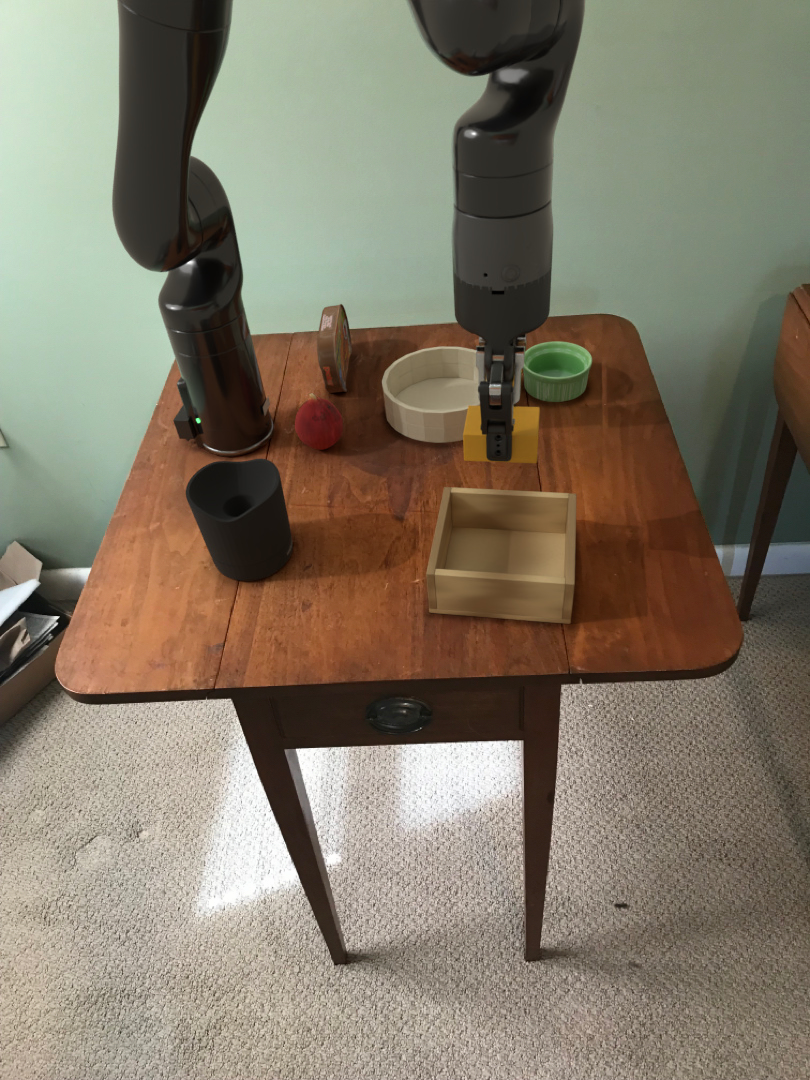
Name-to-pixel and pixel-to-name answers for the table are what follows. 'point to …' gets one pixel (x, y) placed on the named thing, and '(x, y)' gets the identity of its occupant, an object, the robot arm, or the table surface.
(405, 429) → the bowl
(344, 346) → the tin
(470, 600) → the box
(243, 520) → the pen holder
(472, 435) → the yellow rectangular block
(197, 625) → the table surface
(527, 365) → the ramekin
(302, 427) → the onion
